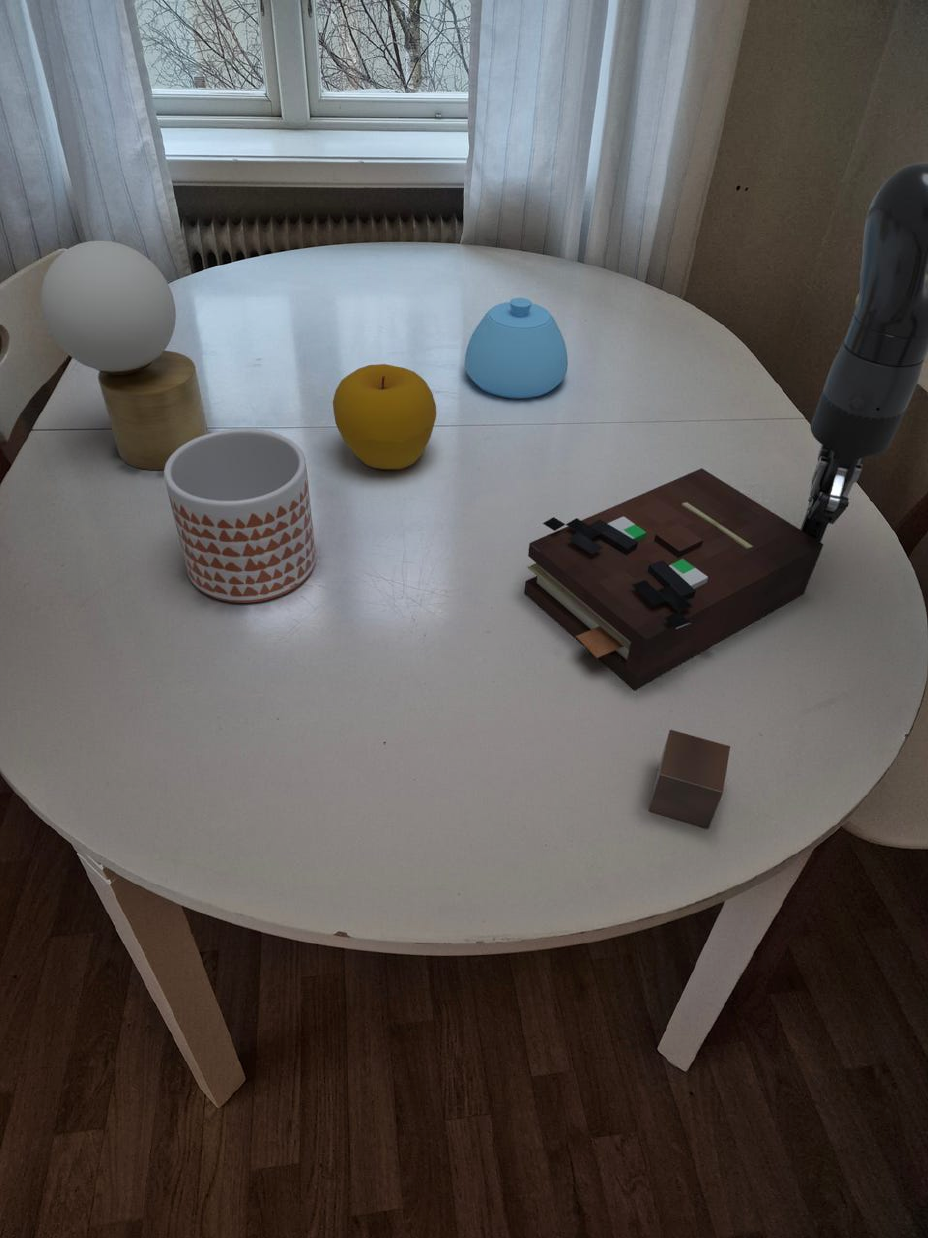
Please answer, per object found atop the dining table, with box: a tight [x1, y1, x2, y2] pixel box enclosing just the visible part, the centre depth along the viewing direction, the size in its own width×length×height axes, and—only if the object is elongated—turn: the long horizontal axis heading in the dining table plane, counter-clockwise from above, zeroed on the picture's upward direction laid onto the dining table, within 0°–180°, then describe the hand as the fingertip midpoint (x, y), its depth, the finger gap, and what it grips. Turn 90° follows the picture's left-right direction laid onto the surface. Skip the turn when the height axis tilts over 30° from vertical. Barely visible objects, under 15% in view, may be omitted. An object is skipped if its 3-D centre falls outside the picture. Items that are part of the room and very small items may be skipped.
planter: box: [163, 428, 317, 604], centre depth 89 cm, size 14×14×13 cm
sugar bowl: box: [464, 297, 569, 400], centre depth 123 cm, size 15×15×12 cm
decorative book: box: [523, 467, 825, 691], centre depth 90 cm, size 19×8×30 cm
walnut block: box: [648, 729, 731, 830], centre depth 71 cm, size 5×5×5 cm
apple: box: [332, 363, 437, 470], centre depth 106 cm, size 13×13×11 cm
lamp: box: [40, 240, 209, 471], centre depth 102 cm, size 15×14×25 cm
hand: (808, 539), depth 92 cm, fingers closed
